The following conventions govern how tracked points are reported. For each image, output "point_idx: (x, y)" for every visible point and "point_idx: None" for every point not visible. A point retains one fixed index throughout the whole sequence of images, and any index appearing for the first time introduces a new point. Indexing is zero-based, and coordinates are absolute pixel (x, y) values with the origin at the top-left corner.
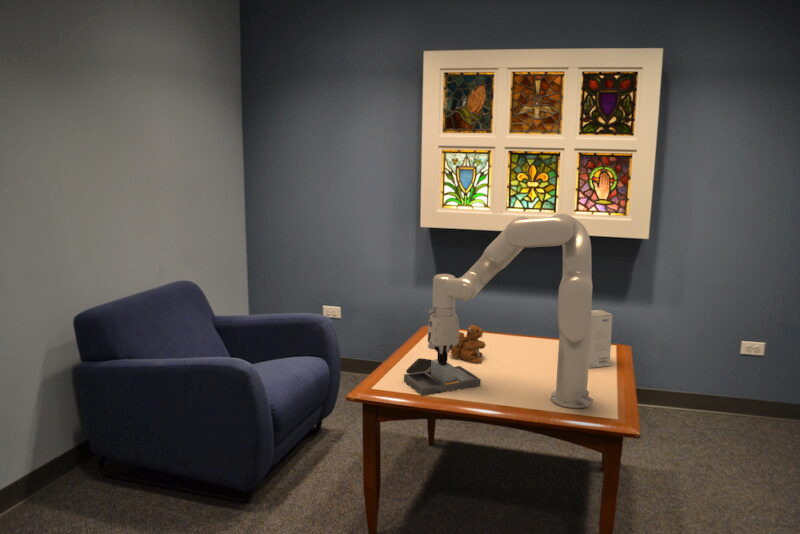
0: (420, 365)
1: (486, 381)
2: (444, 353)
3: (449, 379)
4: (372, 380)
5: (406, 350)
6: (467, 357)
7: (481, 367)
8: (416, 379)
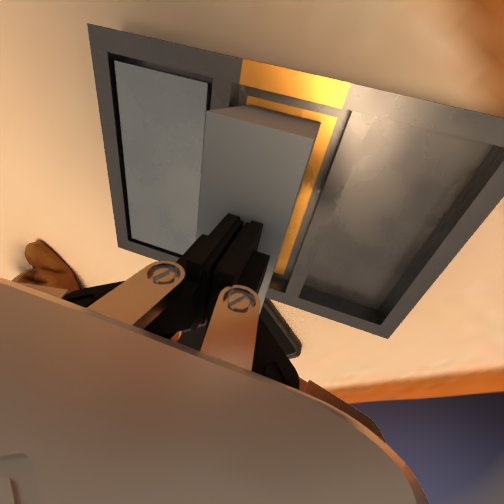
0: None
1: (69, 76)
2: (201, 281)
3: (282, 117)
4: (465, 388)
5: None
6: (63, 285)
7: (46, 217)
8: (351, 285)
